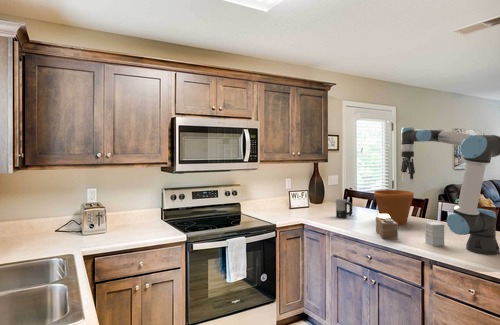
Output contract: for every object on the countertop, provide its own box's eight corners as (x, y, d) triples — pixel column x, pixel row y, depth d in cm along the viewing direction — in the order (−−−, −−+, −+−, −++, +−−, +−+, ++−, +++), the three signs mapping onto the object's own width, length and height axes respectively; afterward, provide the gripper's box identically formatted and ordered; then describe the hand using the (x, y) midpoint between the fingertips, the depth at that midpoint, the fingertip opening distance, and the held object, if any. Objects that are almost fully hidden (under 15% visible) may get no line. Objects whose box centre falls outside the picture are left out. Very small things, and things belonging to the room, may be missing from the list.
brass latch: (391, 218, 214) (388, 213, 222) (380, 218, 215) (377, 213, 223) (391, 219, 214) (388, 215, 222) (380, 219, 215) (377, 215, 223)
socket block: (397, 239, 204) (397, 223, 203) (382, 238, 205) (382, 223, 205) (389, 231, 222) (389, 217, 222) (376, 231, 224) (375, 217, 223)
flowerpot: (421, 223, 244) (421, 192, 243) (396, 228, 231) (396, 195, 230) (390, 216, 269) (390, 189, 268) (366, 220, 256) (366, 191, 255)
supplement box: (436, 242, 196) (436, 221, 195) (444, 245, 188) (444, 224, 188) (425, 242, 195) (425, 222, 195) (432, 246, 188) (432, 224, 187)
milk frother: (335, 218, 269) (335, 200, 268) (335, 214, 284) (335, 197, 284) (353, 218, 265) (353, 201, 264) (352, 214, 280) (352, 198, 280)
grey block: (393, 237, 204) (393, 220, 204) (386, 237, 205) (386, 220, 205) (390, 235, 211) (390, 218, 211) (383, 234, 212) (383, 218, 212)
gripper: (420, 150, 198) (420, 185, 199) (407, 150, 222) (407, 181, 223) (407, 151, 199) (407, 185, 200) (396, 151, 224) (396, 181, 224)
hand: (407, 183), depth 212 cm, fingers open, 13 cm apart
